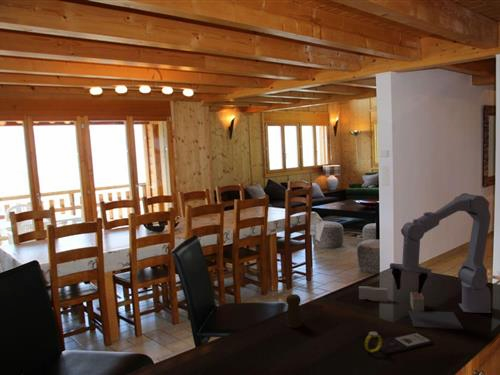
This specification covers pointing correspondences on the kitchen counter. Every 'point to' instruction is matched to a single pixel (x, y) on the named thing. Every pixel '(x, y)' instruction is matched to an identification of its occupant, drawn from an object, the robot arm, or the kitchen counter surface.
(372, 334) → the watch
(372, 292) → the napkin holder
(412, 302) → the card box
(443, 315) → the rubber mat
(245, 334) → the kitchen counter surface
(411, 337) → the chocolate bar
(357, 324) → the kitchen counter surface
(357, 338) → the kitchen counter surface
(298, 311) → the cork
